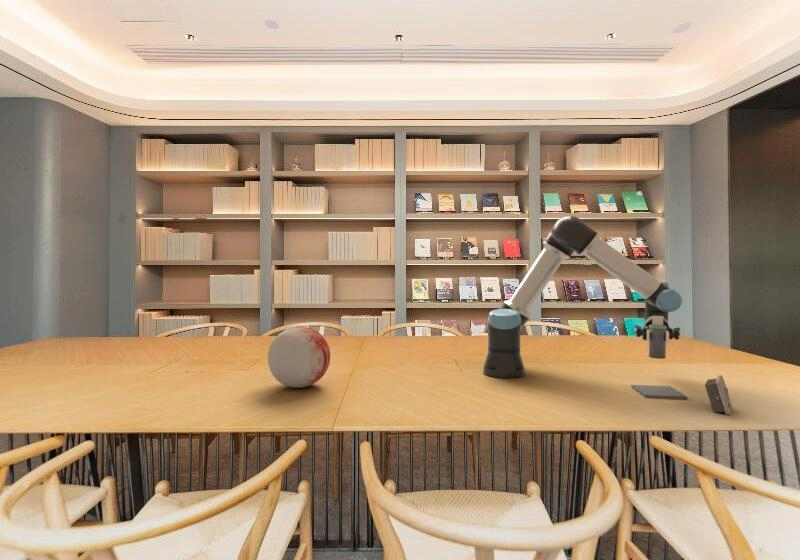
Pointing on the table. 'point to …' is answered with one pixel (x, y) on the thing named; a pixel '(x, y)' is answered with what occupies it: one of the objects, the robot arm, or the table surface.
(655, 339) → the trash can
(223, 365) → the table surface
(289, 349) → the decorative orb
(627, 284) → the robot arm
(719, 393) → the electrical switch
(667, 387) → the pad
